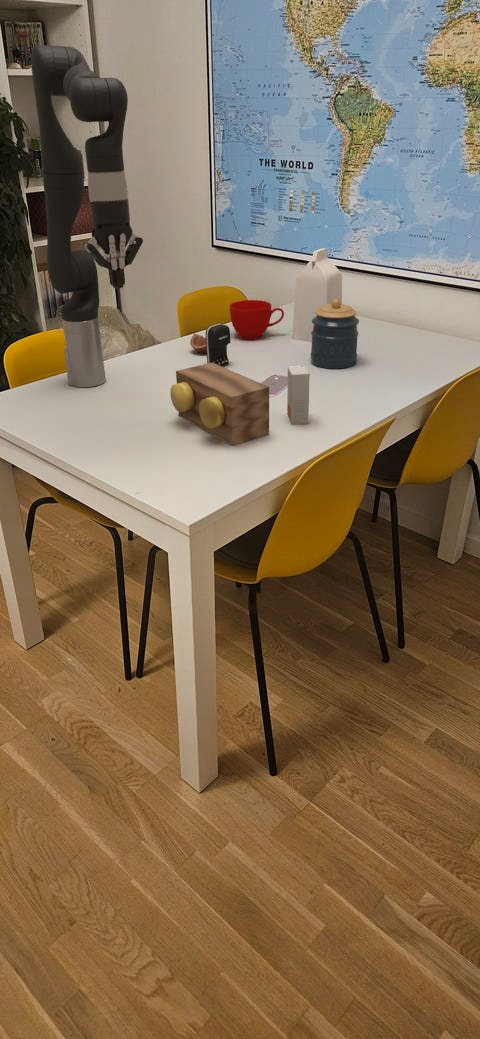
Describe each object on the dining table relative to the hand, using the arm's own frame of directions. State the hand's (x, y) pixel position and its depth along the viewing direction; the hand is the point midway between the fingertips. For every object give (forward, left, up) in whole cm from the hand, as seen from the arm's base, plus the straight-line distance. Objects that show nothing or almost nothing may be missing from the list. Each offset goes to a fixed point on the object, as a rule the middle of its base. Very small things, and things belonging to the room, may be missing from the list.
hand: (117, 287), depth 149 cm
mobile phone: (+32, +28, -32) cm, 53 cm away
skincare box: (+38, +5, -31) cm, 49 cm away
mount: (+20, 0, -31) cm, 37 cm away
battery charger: (+16, +44, -31) cm, 56 cm away
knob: (+17, +6, -28) cm, 33 cm away
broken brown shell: (+10, +57, -31) cm, 66 cm away
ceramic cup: (+25, +74, -31) cm, 84 cm away
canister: (+48, +48, -31) cm, 75 cm away
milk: (+44, +74, -31) cm, 92 cm away
